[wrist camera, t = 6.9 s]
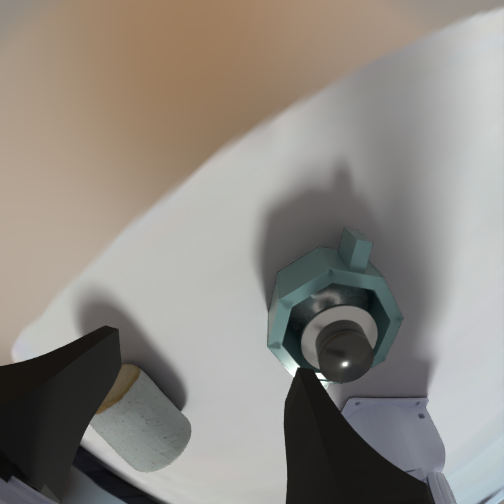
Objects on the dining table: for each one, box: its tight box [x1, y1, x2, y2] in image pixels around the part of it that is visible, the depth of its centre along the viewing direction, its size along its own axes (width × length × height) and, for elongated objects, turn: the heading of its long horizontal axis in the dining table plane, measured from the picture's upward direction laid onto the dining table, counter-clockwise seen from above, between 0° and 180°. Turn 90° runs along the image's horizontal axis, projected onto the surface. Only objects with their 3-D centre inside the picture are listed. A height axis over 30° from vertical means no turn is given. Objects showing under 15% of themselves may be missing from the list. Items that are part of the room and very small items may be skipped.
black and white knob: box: [290, 283, 378, 383], centre depth 17 cm, size 6×6×6 cm
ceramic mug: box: [89, 364, 191, 472], centre depth 22 cm, size 11×8×8 cm
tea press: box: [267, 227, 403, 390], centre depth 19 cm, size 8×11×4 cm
